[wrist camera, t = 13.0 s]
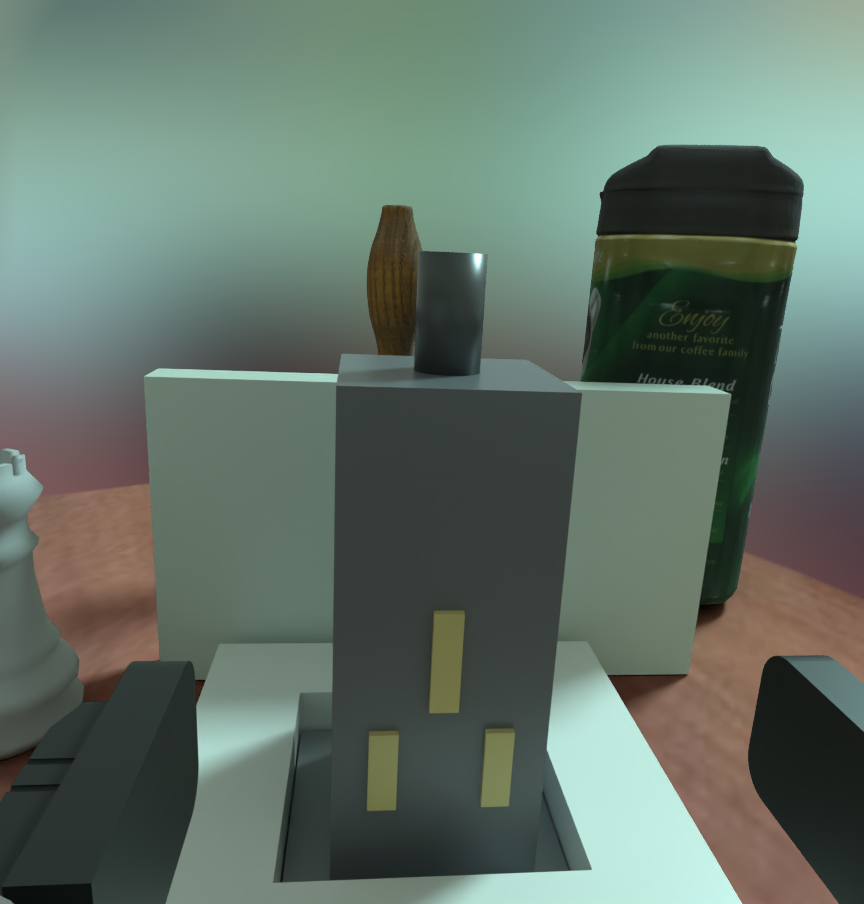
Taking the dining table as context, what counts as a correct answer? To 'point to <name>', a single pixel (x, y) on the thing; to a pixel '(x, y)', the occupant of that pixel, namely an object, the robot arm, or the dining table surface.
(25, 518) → the rook chess piece
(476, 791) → the plug
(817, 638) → the dining table surface
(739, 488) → the coffee jar
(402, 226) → the hand bell
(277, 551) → the socket
